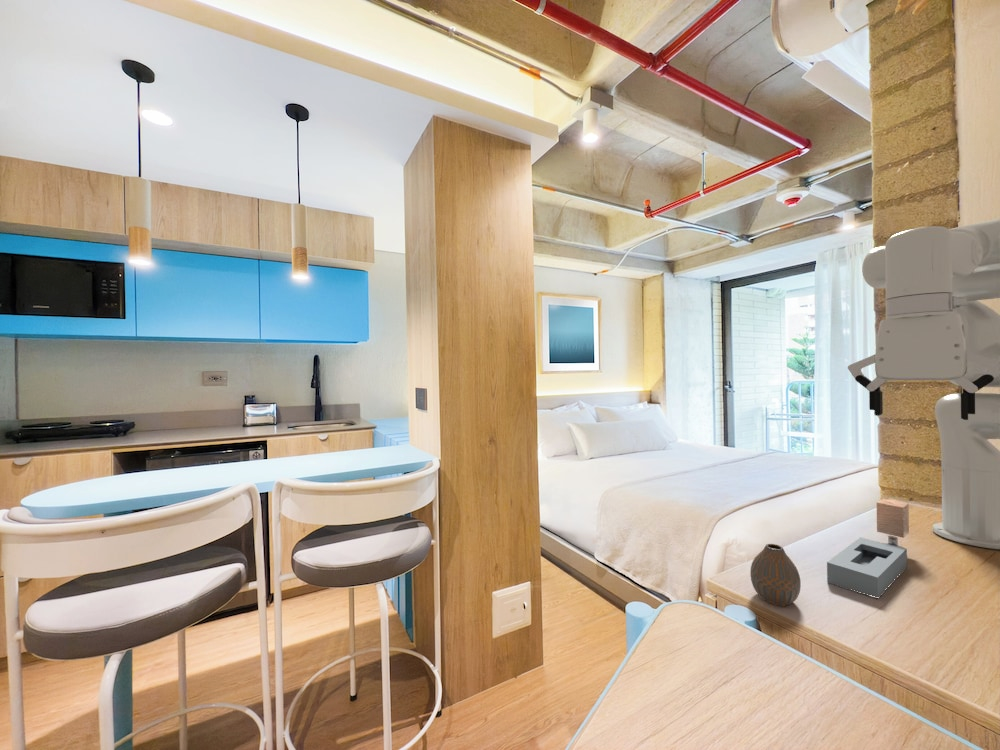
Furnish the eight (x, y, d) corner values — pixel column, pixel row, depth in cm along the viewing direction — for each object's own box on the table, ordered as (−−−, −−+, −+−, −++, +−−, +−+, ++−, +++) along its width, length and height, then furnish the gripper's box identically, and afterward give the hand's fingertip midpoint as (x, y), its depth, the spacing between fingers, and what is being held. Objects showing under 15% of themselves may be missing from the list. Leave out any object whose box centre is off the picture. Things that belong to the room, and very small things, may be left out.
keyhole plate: (860, 555, 84) (860, 537, 84) (906, 567, 78) (906, 548, 78) (827, 582, 73) (827, 562, 73) (877, 599, 68) (877, 577, 68)
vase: (795, 593, 70) (794, 541, 70) (805, 615, 64) (804, 558, 64) (748, 585, 73) (747, 535, 73) (753, 605, 67) (752, 551, 67)
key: (883, 546, 88) (882, 498, 88) (909, 552, 84) (908, 503, 84) (877, 551, 85) (876, 502, 85) (903, 557, 82) (903, 507, 82)
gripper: (1002, 303, 62) (1003, 418, 62) (851, 316, 75) (852, 411, 75) (1005, 298, 57) (1006, 423, 57) (843, 313, 70) (844, 415, 70)
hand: (919, 416), depth 66 cm, fingers open, 9 cm apart
